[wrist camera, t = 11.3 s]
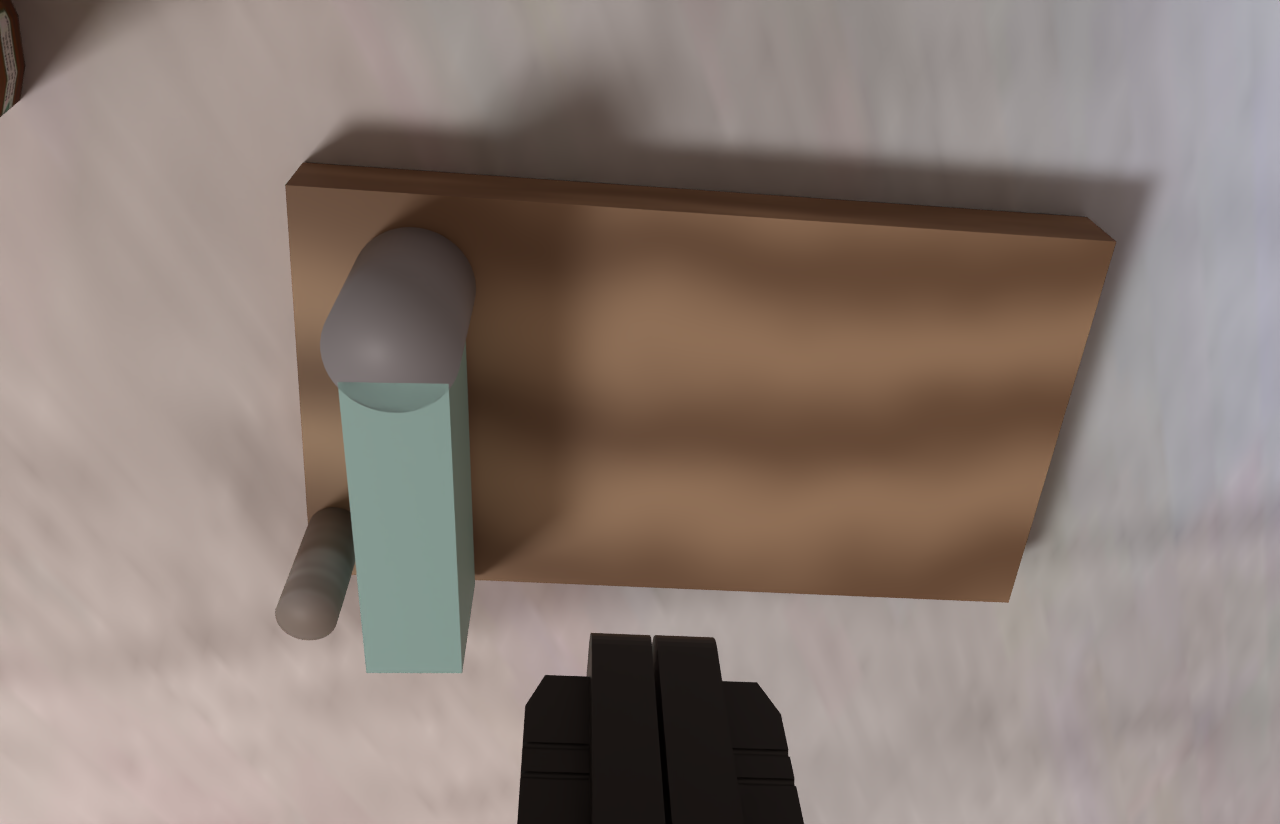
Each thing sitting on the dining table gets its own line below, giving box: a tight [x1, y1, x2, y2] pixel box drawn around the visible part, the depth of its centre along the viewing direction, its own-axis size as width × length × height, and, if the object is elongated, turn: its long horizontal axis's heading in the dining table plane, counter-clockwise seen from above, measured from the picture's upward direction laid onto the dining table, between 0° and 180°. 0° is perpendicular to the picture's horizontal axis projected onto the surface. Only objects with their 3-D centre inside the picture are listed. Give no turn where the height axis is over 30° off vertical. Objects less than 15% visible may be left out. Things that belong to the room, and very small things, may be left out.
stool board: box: [275, 163, 1116, 640], centre depth 39 cm, size 15×27×8 cm, turn 85°
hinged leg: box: [320, 227, 476, 673], centre depth 37 cm, size 14×4×5 cm, turn 178°
